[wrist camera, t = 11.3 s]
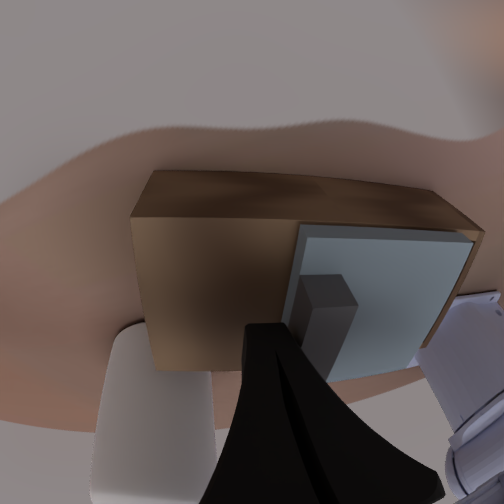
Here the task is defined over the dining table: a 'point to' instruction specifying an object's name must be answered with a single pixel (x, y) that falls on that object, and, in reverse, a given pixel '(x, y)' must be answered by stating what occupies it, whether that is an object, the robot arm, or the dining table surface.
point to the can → (151, 429)
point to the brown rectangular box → (251, 251)
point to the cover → (368, 295)
